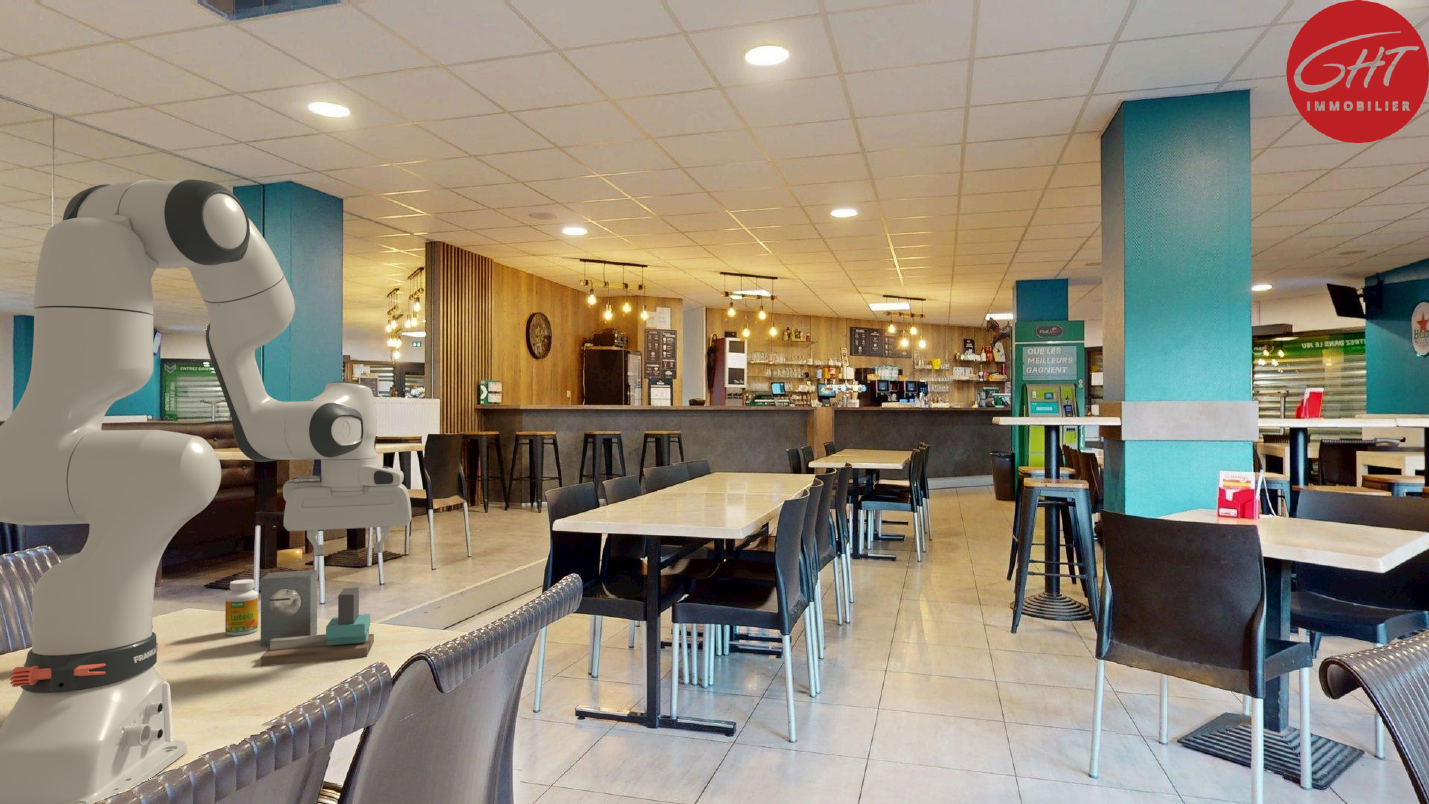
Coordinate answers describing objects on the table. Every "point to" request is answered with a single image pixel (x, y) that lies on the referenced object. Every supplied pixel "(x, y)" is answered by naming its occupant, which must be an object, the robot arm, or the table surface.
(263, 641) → the cabinet
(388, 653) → the table surface
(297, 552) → the button
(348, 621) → the carriage
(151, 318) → the robot arm
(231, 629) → the supplement bottle
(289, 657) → the rail board
